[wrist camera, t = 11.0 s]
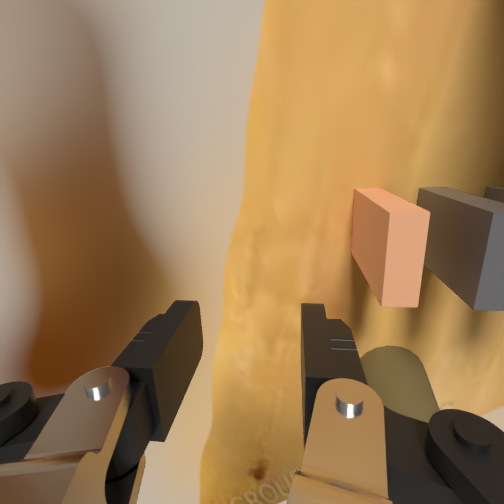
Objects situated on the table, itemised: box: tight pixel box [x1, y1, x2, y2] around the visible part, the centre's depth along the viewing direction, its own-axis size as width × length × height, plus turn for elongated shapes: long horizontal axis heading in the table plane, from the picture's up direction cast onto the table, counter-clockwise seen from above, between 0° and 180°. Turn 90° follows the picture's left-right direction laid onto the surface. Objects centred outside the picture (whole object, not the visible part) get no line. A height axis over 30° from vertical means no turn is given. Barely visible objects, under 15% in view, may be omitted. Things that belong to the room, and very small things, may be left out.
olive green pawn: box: [360, 346, 440, 423], centre depth 23 cm, size 6×6×11 cm
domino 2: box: [417, 187, 504, 311], centre depth 19 cm, size 5×2×9 cm, turn 2°
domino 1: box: [351, 188, 430, 307], centre depth 20 cm, size 5×2×9 cm, turn 3°
